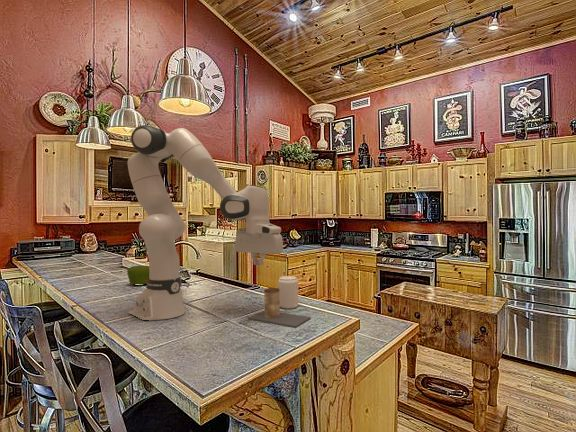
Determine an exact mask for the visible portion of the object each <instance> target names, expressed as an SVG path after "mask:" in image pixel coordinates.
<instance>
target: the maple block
mask: <svg viewBox="0 0 576 432" xmlns="http://www.w3.org/2000/svg"><path fill="white" fill-rule="evenodd" d="M263 292H264V293H263V294H264V301H263V302H264V303H263V304H264V306H263V307H264V310H265V317H268V318H276V317H278V316H280V311H281V309H280V308H281V307H280V299H279V288H278V287H277V288H276V287H268V288H265V289H263Z"/></svg>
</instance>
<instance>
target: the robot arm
mask: <svg viewBox="0 0 576 432" xmlns="http://www.w3.org/2000/svg"><path fill="white" fill-rule="evenodd" d="M130 142H131V145H132V146H133V148H134V150H135V151H137V152H136V153H133V154H132V155H131V156H130V157H128V160H127V168H128V175H129V177H130V181H131V185H132V188H133V189H134V193H135V196H136V198H137V202H138V204H139V205H140V207H141V208H142V209H143V210H144V211H145V212H146V214H147V216H146V217H144V218H142V220H140V221H141V222H140V223H139V226H138V233H139V235H140V237H141V238H142V239H143V241H144V244H145V248H146V252H147V256H148V257H147V258H148V266H149V279H148V280H145V281H148V282H145V283H147V285H146V286H145V289H144V290H143V291H142V292H141V293H140V294H139V295H138V296H136V298H135V300H134V301H135V302H134V308H132V309H130V310H129V311H127V314H128V313H130V314H132V315H135V316H136V317H138V318H137V319H139V318H140V319H139V320H141V319H142V321H143V320H149V321H155V320H156V321H157V320H160V321H161V320H167V319H168V320H169V319H172V318H173V319H174V318H177V317H180V316H182V315H184V314H185V313H186V306H185V305H184V297H183V295H184V294H183V289H182V288H181V286H182V277H181V276H180V275H181V272H180V271H181V270H180V269H181V267H180V255H179V254H178V251H177V248H176V243H175V241H176V240H177V239H179V238H180V237H181V236H182V235H183V234H184V233H185V230H186V223H185V221H184V219H183V218H182V217H181V215H180V214H179V212H178V210H177V208H176V206H175V205H174V203H173V201H172V200H171V198H170V196H169V193H168V190H167V188H166V185H165V182H164V179H163V178H162V175H161V171H160V168H159V164H164V163H165V162H166V161H167V160H169V159H171V158H173V157H175V159H176V160H177V161H178V162H179V164H180V165H181V166H182V167H183V168H184V170H186V171H187V172H188V173H189V174H190V175H192V177H195V178H197V179H198V180H201V181H203V182H205V183H206V184H208V185H209V186H210V187H212V189H213V190H214V191H215V192H216V193H217V194H218V196H220V198H221V201H220V204H219V209H220V210H219V211H220V213H221V215H222V216H223V217H224V218H226V219H228V220H232V221H245V228H244V227H243V228H242V227H240V228H238V229H237V230H236V231H235V241H234V242H235V243H234V250H235V251H236V253H246V254H249V253H250V257H251V258H252V261H253V265H254V266H262V265H264V260H265V258H266V256H267V255H278V254H280V255H281V254H282V253H283V251H284V243H283V242H284V240H283V236H282V234H281V233H282V227H280V226H277V225H275V224H272V223H270V218H269V217H270V216H269V212H270V211H269V210H270V200H269V199H270V198H269V193H268V190H267V189H266V188H265V187H264V186H260V185H254V184H249V185H247V186H246V187H244V188H243V189H241V190H240V191H237V190H236V189H235V188H234V187H233V186H232V184H231V183H230V182H229V181H228V179H226V177H225V176H224V175H223V174H222V172H221V171H220V168H218V166H217V164H216V162H215V160H214V159H213V157H212V155H211V154H210V153H209V151H208V150H207V148H206V147H205V146H204V144H203V143H202V142H201V141H200V140H199V139H198V138H197V137H196V135H194V133H192V132H190V130H188V129H186V128H185V127H178V128H175V129H174V130H172V131H171V132H168V133H167V132H166V131H164V130H163V129H160V128H158V127H155V126H153V125H148V124H147V125H146V124H144V125H139V126H137V127H135V128H134V129H133V130H132V132H131V134H130ZM257 255H259V258H258V257H257ZM130 314H129V315H130ZM132 315H131V316H132ZM136 317H135V318H136Z"/></svg>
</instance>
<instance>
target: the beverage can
mask: <svg viewBox="0 0 576 432" xmlns="http://www.w3.org/2000/svg"><path fill="white" fill-rule="evenodd" d="M277 283H278V287H277V288H279V299H280V308H281V309H285V310H292V309H295V308H297V307H299V281H298V278H297V276H293V275H287V276H286V275H283V276H280V277H279V279H278V281H277Z"/></svg>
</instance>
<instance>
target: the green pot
mask: <svg viewBox="0 0 576 432" xmlns="http://www.w3.org/2000/svg"><path fill="white" fill-rule="evenodd" d="M126 274H127V277H128V282H129V284H131V285H133V284H147V283H145V282H148V281H145V280H148V279H149V265H143V264H142V265H134V266H130V267H129V268H128V269H127V272H126Z"/></svg>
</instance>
